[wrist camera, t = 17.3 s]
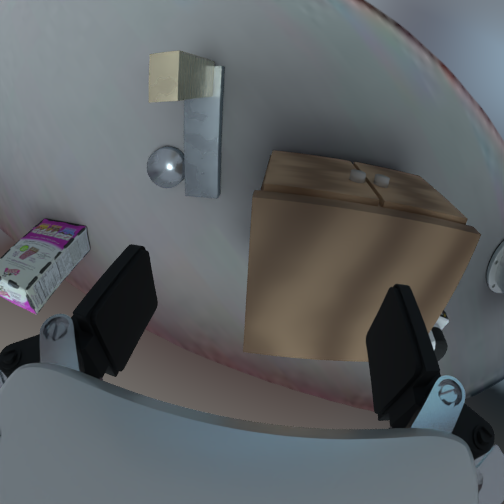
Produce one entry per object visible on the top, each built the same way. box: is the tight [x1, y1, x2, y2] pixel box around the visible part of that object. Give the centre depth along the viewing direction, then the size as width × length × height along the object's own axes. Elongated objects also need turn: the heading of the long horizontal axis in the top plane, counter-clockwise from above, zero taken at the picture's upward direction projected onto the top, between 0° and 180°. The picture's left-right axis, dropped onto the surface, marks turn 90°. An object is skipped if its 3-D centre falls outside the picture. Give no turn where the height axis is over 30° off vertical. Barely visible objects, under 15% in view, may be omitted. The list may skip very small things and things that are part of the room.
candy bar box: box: [0, 219, 90, 315], centre depth 33 cm, size 11×5×16 cm, turn 83°
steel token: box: [147, 146, 185, 188], centre depth 32 cm, size 5×5×2 cm
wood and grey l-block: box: [149, 51, 225, 198], centre depth 24 cm, size 4×16×12 cm, turn 177°
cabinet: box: [243, 150, 481, 362], centre depth 26 cm, size 17×16×16 cm
